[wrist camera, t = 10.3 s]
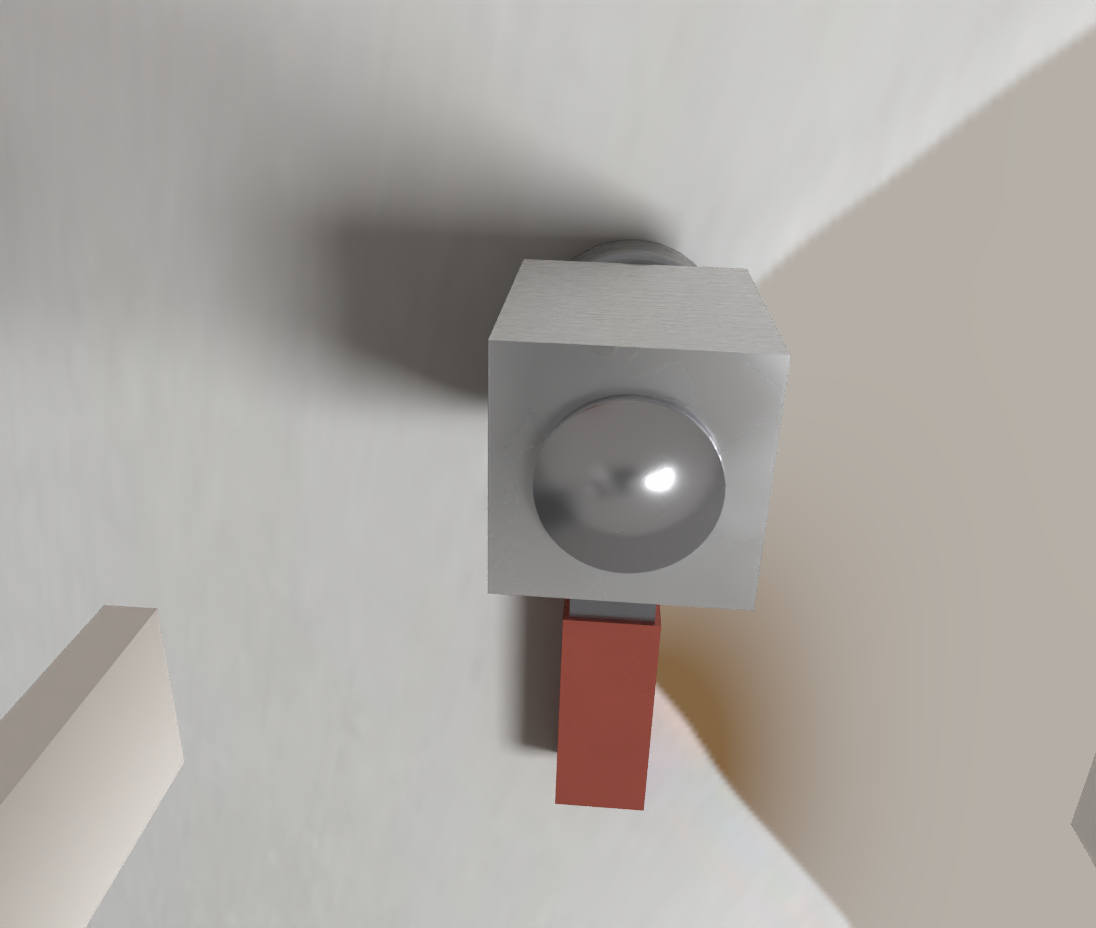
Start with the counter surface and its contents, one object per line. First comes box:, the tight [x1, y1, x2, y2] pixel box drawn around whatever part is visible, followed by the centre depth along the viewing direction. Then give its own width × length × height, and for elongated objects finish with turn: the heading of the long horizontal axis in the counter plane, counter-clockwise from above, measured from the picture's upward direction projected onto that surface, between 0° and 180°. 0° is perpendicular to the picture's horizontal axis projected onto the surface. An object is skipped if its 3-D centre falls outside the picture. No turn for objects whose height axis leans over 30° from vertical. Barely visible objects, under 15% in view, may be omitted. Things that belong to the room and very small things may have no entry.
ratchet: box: [555, 240, 697, 810], centre depth 29 cm, size 6×20×6 cm, turn 178°
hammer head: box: [488, 259, 791, 611], centre depth 23 cm, size 6×6×8 cm
